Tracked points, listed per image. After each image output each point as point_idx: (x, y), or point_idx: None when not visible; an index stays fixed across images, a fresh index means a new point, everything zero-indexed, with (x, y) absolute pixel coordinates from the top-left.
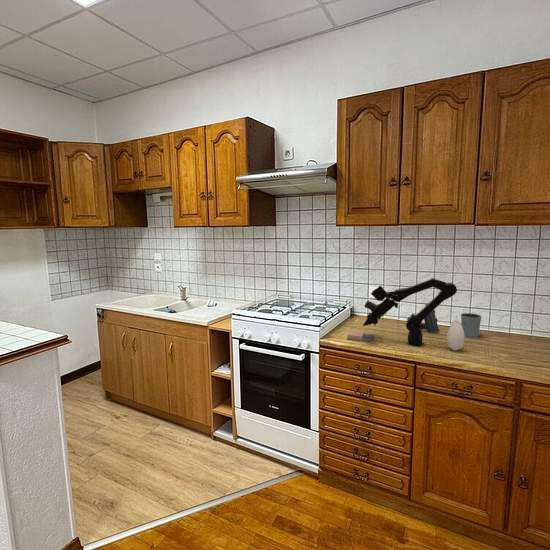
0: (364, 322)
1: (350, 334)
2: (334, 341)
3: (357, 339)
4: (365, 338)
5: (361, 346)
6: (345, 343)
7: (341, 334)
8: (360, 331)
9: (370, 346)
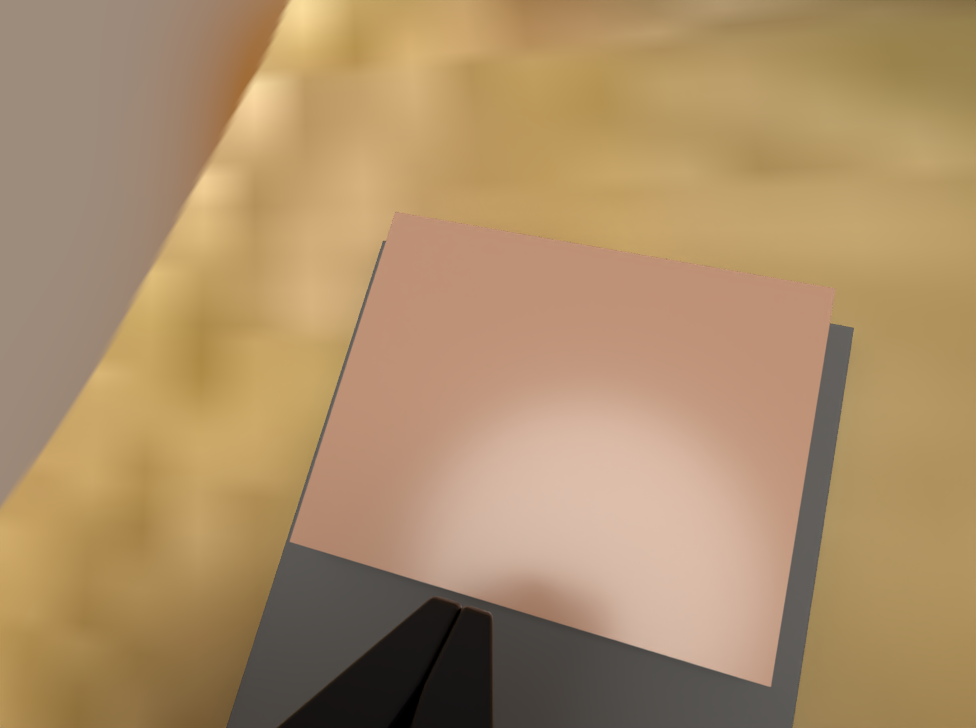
0: (431, 687)
1: (427, 272)
2: (297, 54)
3: None
4: None
5: (34, 499)
6: (197, 226)
7: (744, 134)
8: (733, 539)
9: (19, 680)
